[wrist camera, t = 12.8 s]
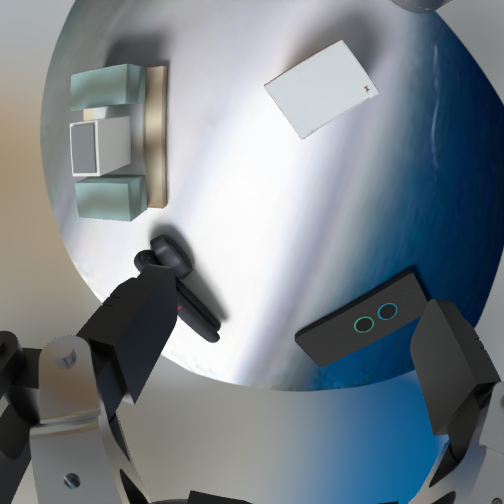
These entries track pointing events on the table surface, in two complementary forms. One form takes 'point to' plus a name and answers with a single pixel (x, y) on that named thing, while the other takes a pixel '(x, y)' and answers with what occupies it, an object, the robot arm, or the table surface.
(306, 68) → the small box
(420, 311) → the smart home device
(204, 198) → the table surface
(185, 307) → the can opener
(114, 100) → the rail board
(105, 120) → the block
